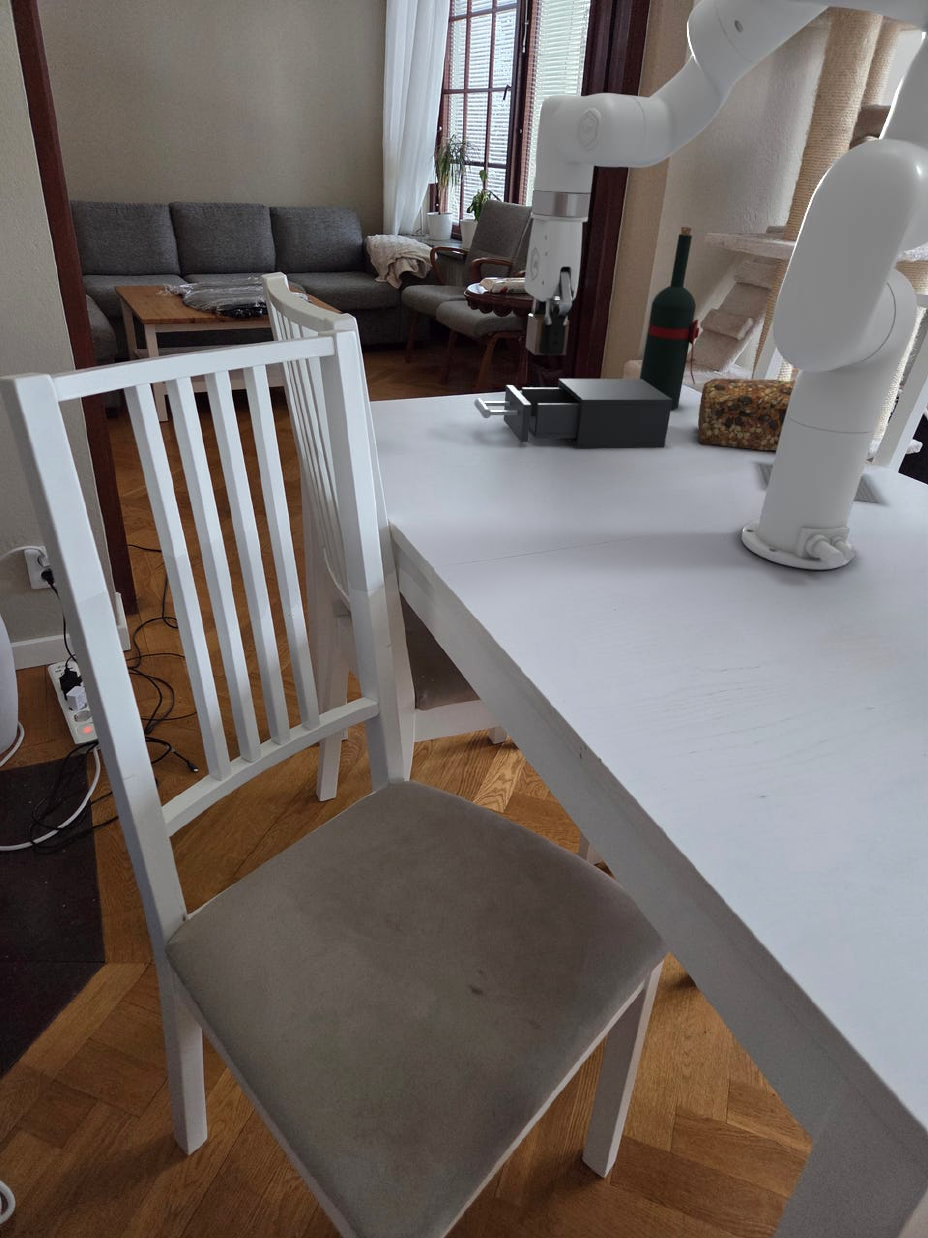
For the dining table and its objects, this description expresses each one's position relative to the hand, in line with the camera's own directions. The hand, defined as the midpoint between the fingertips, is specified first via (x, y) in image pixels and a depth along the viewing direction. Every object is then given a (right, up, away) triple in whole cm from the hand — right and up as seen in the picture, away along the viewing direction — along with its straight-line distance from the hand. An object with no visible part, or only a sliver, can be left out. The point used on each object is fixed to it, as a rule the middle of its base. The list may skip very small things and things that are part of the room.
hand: (545, 348), depth 117 cm
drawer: (0, -8, +15) cm, 17 cm away
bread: (+36, -9, +19) cm, 42 cm away
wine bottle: (+25, +1, +36) cm, 44 cm away
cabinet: (+12, -8, +18) cm, 23 cm away
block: (0, 0, 0) cm, 0 cm away
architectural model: (+40, -19, +3) cm, 44 cm away
